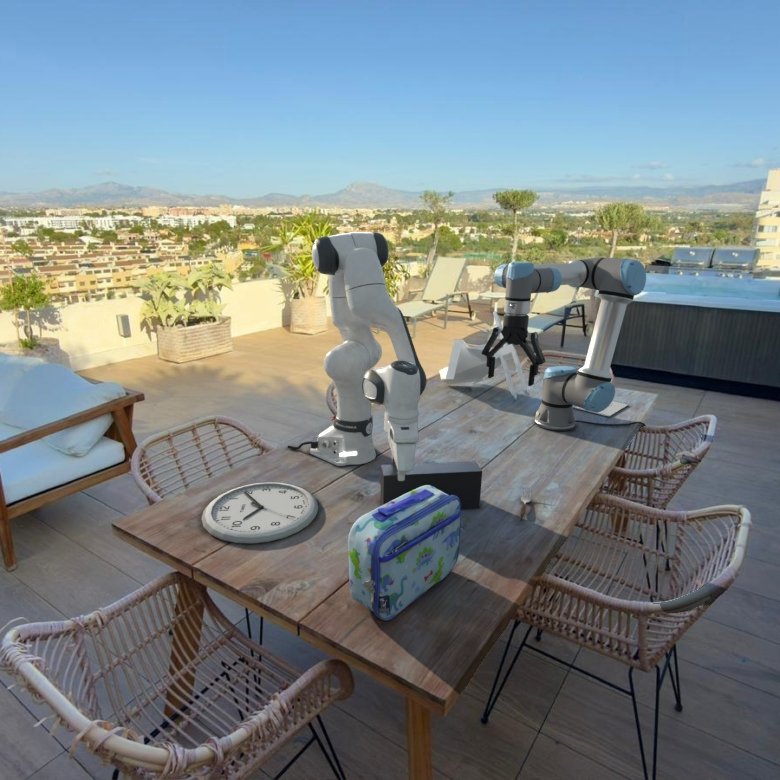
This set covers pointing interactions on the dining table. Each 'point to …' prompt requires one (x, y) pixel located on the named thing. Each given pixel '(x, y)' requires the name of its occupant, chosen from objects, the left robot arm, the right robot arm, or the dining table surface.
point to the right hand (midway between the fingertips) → (510, 381)
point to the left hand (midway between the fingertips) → (397, 471)
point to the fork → (525, 500)
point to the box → (435, 481)
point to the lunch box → (403, 549)
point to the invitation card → (609, 409)
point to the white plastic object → (480, 363)
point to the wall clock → (259, 513)
